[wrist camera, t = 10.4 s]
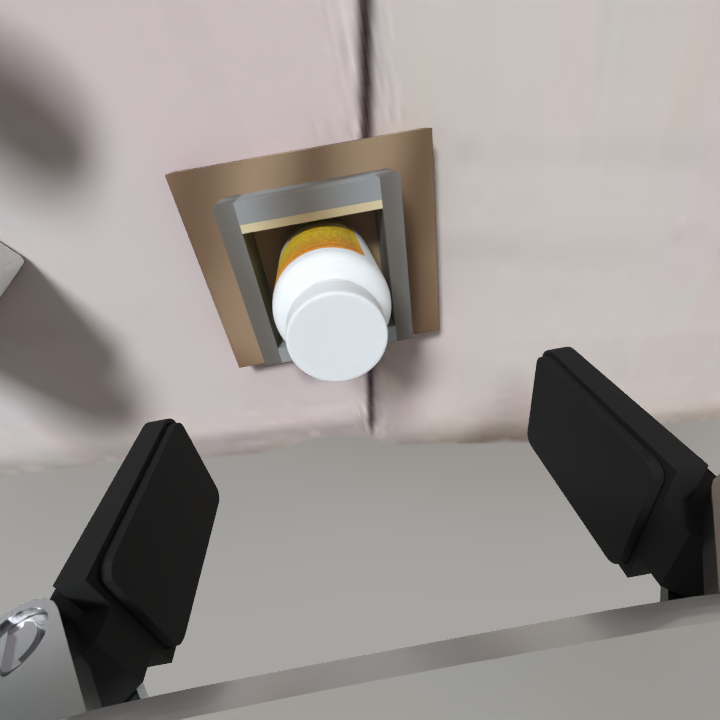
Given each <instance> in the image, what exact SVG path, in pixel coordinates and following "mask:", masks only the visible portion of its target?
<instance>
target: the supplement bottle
mask: <svg viewBox="0 0 720 720" xmlns="http://www.w3.org/2000/svg"><path fill="white" fill-rule="evenodd" d="M272 308H273V317H274V321H275V324H276V327H277V329H278V331H279V333H280V335H281V336H282V338H283V339H284V340H285V342H286V346H287V350H288V352H289V355H290V357H291V359H292V360H293V362H294V363H295V364H296V365H297V366H298V367H299V368H300V369H301V370H302V371H303V372H305V373H306V374H308V375H310V376H312V377H314V378H317V379H320V380H324V381H331V382H340V381H347V380H351V379H354V378H357V377H359V376H361V375H363V374H365V373H366V372H368V371H369V370H370V369H372V368H373V367H374V366H375V365H376V364H377V363H378V361H379V360H380V359H381V357H382V355H383V354H384V351H385V349H386V345H387V341H388V328H387V325H388V323H389V319H390V315H391V296H390V291H389V288H388V285H387V283H386V280H385V278H384V276H383V274H382V272H381V270H380V269H379V267H378V265H377V263H376V261H375V259H374V257H373V255H372V253H371V251H370V249H369V248H368V246H367V244H366V242H365V241H364V239H363V238H362V237H361V235H360V234H359V233H358V232H357V231H356V230H355V229H354V228H352V227H351V226H349V225H348V224H346V223H344V222H341V221H339V220H335V219H328V218H327V219H321V220H316V221H310V222H306V223H304V224H302V225H300V226H299V227H298V228H296V229H295V230H294V231H293V232H292V233H291V234H290V235H289V237H288V238H287V240H286V241H285V243H284V245H283V248H282V251H281V254H280V260H279V266H278V271H277V277H276V282H275V287H274V293H273V302H272Z"/></svg>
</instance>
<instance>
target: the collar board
mask: <svg viewBox="0 0 720 720" xmlns="http://www.w3.org/2000/svg"><path fill="white" fill-rule="evenodd" d="M165 177H166V179H167V182H168V185H169V187H170V190H171V192H172V195H173V197H174V200H175V203H176V205H177V208H178V210H179V213H180V216H181V218H182V221H183V223H184V226H185V228H186V231H187V234H188V236H189V239H190V241H191V244H192V247H193V249H194V252H195V254H196V257H197V259H198V262H199V265H200V267H201V270H202V272H203V275H204V278H205V280H206V283H207V285H208V288H209V290H210V293H211V296H212V298H213V301H214V303H215V306H216V309H217V311H218V314H219V316H220V319H221V321H222V324H223V327H224V329H225V332H226V334H227V337H228V340H229V342H230V345H231V347H232V350H233V352H234V355H235V358H236V360H237V363H238V365H239V368H241V367H246V366H251V365H256V364H261V363H265V366H269V365H274V364H279V363H284V362H290V361H293V360H292V359H291V357H290V355H289V352H288V350H287V346H286V342H285V340H284V339H283V338H282V336H281V335H280V333H279V331H278V329H277V327H276V324H275V321H274V317H273V308H272V302H273V293H274V287H275V282H276V277H277V271H278V266H279V260H280V254H281V251H282V248H283V245H284V243H285V241H286V240H287V238H288V237H289V235H290V234H291V233H292V232H293V231H294V230H295V229H296V228H298V227H299V226H300V225H302V224H304V223H306V222H310V221H316V220H321V219H327V218H328V219H335V220H339V221H341V222H344V223H346V224H348V225H349V226H351V227H352V228H354V229H355V230H356V231H357V232H358V233H359V234H360V235H361V237H362V238H363V239H364V241H365V242H366V244H367V246H368V248H369V249H370V251H371V253H372V255H373V257H374V259H375V261H376V263H377V265H378V267H379V269H380V270H381V272H382V274H383V276H384V278H385V280H386V283H387V285H388V288H389V291H390V296H391V315H390V319H389V323H388V325H387V328H388V341H387V343H388V342H393V341H398V340H403V339H408V338H413V334H417V333H422V332H427V331H432V330H437V329H439V309H438V282H437V254H436V227H435V199H434V171H433V144H432V128H421V129H415V130H410V131H404V132H398V133H393V134H387V135H381V136H376V137H370V138H364V139H359V140H353V141H347V142H342V143H336V144H330V145H324V146H319V147H313V148H307V149H302V150H296V151H290V152H285V153H279V154H273V155H268V156H262V157H256V158H251V159H245V160H239V161H234V162H228V163H222V164H217V165H211V166H205V167H200V168H194V169H188V170H182V171H177V172H172V173H169V174H166V175H165Z"/></svg>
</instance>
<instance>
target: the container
mask: <svg viewBox="0 0 720 720" xmlns="http://www.w3.org/2000/svg"><path fill="white" fill-rule="evenodd" d="M23 264H24V260H23V258H22V257H21V256H20V255H19V254H17V253H15V252H14V251H12V250H11V249H9V248H8V247H6V246H5V245H3V244H2V243H0V297H1V295H2V294H3V292H4V291H5V290H6V288H7V287H8V285H9V284H10V282H11V281H12V280H13V278H14V277H15V275H16V274H17V272H18V271H19V270H20V268H21V267H22V265H23Z"/></svg>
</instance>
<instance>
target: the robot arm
mask: <svg viewBox="0 0 720 720" xmlns="http://www.w3.org/2000/svg"><path fill="white" fill-rule="evenodd" d="M528 439H529V442H530V444H531V446H532V447H533V449H534V451H535V452H536V454H537V455H538V457H539V458H540V460H541V461H542V462H543V464H544V465H545V467H546V468H547V470H548V471H549V473H550V474H551V476H552V477H553V479H554V480H555V482H556V483H557V485H558V486H559V488H560V489H561V491H562V492H563V494H564V495H565V497H566V498H567V500H568V501H569V502H570V504H571V505H572V507H573V508H574V510H575V511H576V513H577V514H578V516H579V517H580V519H581V520H582V522H583V523H584V525H585V526H586V528H587V529H588V530H589V532H590V533H591V535H592V536H593V538H594V539H595V541H596V542H597V544H598V545H599V547H600V548H601V550H602V551H603V552H604V554H605V556H606V557H607V558H608V559H609V560H610V561H611V562H612V563H614V564H619V566H620V567H621V569H622V570H623V571H624V573H625V574H626V576H627V577H634V576H639V575H645V574H650V573H651V574H652V575H653V577H654V578H655V579H656V581H657V582H658V583H659V585H660V586H661V592H660V594H661V595H660V602H657V603H652V604H646V605H638V606H633V607H626V608H620V609H614V610H608V611H602V612H597V613H591V614H586V615H581V616H575V617H569V618H564V619H558V620H553V621H547V622H542V623H537V624H531V625H525V626H520V627H514V628H509V629H503V630H498V631H492V632H487V633H482V634H476V635H470V636H465V637H460V638H454V639H449V640H444V641H438V642H433V643H428V644H422V645H417V646H411V647H406V648H401V649H395V650H390V651H385V652H379V653H374V654H369V655H363V656H358V657H353V658H347V659H342V660H337V661H332V662H326V663H321V664H316V665H310V666H305V667H300V668H295V669H290V670H284V671H279V672H275V673H269V674H264V675H259V676H253V677H248V678H243V679H238V680H233V681H227V682H222V683H217V684H212V685H207V686H202V687H196V688H191V689H186V690H182V691H177V692H173V693H168V694H163V695H158V696H153V697H149V696H148V694H147V692H146V689H145V687H144V684H143V680H144V677H145V673H146V670H147V667H150V666H155V665H161V664H167V663H172V659H173V656H174V652H175V649H176V646H177V645H180V644H181V642H182V641H183V639H184V636H185V633H186V629H187V625H188V621H189V617H190V614H191V610H192V605H193V602H194V598H195V594H196V590H197V586H198V582H199V578H200V574H201V570H202V566H203V562H204V559H205V555H206V551H207V547H208V543H209V539H210V535H211V531H212V527H213V523H214V519H215V515H216V511H217V507H218V503H219V493H218V490H217V487H216V485H215V484H214V482H213V480H212V478H211V476H210V474H209V473H208V471H207V469H206V467H205V465H204V463H203V461H202V460H201V458H200V456H199V454H198V452H197V450H196V448H195V447H194V445H193V443H192V441H191V439H190V437H189V436H188V434H187V432H186V430H185V428H184V426H183V425H182V424H181V423H176V422H175V421H174V420H173V419H164V420H159V421H153V422H148V423H146V424H145V425H144V427H143V428H142V430H141V432H140V434H139V435H138V437H137V439H136V441H135V442H134V444H133V446H132V448H131V449H130V451H129V453H128V455H127V456H126V458H125V460H124V462H123V464H122V465H121V467H120V469H119V470H118V472H117V474H116V476H115V477H114V479H113V481H112V483H111V484H110V486H109V488H108V490H107V492H106V493H105V495H104V497H103V499H102V501H101V502H100V504H99V506H98V507H97V509H96V511H95V513H94V514H93V516H92V518H91V520H90V521H89V523H88V525H87V527H86V528H85V530H84V532H83V534H82V535H81V537H80V539H79V541H78V542H77V544H76V546H75V548H74V549H73V551H72V553H71V555H70V557H69V558H68V560H67V562H66V563H65V565H64V567H63V569H62V570H61V572H60V574H59V576H58V578H57V579H56V581H55V583H54V585H53V587H55V588H56V589H55V591H54V593H53V594H52V596H51V598H50V600H49V599H46V598H42V599H33V600H31V601H28V602H25V603H23V604H20V605H19V606H17V607H15V608H14V609H12V610H10V611H9V612H7V613H5V614H4V615H3V616H2V617H0V720H720V474H719V475H718V476H715V475H714V474H713V473H712V472H711V471H710V470H709V469H707V467H708V465H707V463H705V462H704V461H703V460H702V459H701V458H700V457H698V456H697V455H696V454H695V453H694V452H693V451H691V450H690V449H689V448H688V447H687V446H686V445H684V444H683V443H682V442H681V441H680V440H679V439H677V438H676V437H675V436H674V435H673V434H672V433H671V432H669V431H668V430H667V429H666V428H665V427H663V426H662V425H661V424H660V423H659V422H658V421H657V420H655V419H654V418H653V417H652V416H651V415H650V414H648V413H647V412H646V411H645V410H644V409H643V408H641V407H640V406H639V405H638V404H637V403H636V402H635V401H633V400H632V399H631V398H630V397H629V396H628V395H626V394H625V393H624V392H623V391H622V390H621V389H619V388H618V387H617V386H616V385H615V384H614V383H612V382H611V381H610V380H609V379H608V378H607V377H605V376H604V375H603V374H602V373H601V372H600V371H599V370H597V369H596V368H595V367H594V366H593V365H592V364H590V363H589V362H588V361H587V360H586V359H585V358H583V357H582V356H581V355H580V354H579V353H578V352H576V351H575V350H574V349H573V348H571V347H563V348H557V349H552V350H547V351H545V352H544V354H543V356H542V357H540V358H538V360H537V364H536V372H535V379H534V387H533V394H532V402H531V410H530V417H529V425H528Z"/></svg>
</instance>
